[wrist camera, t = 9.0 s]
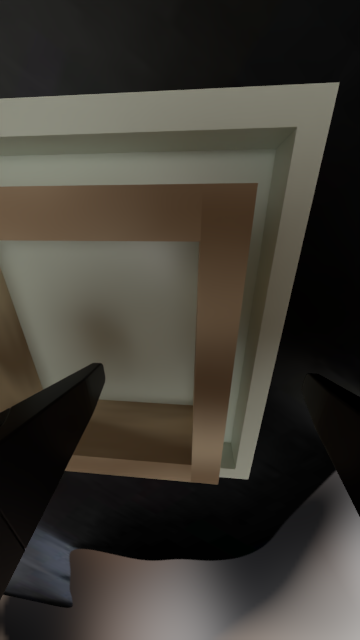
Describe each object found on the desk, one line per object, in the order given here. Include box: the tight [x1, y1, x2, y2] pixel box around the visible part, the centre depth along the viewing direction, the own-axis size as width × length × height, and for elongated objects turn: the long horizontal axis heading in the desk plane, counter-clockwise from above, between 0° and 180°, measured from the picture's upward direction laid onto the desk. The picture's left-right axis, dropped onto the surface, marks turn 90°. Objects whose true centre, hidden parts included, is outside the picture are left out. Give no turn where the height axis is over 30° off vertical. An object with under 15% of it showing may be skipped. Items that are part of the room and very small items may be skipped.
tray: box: [0, 82, 340, 479], centre depth 12 cm, size 20×20×2 cm
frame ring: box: [0, 183, 258, 484], centre depth 11 cm, size 14×14×4 cm
